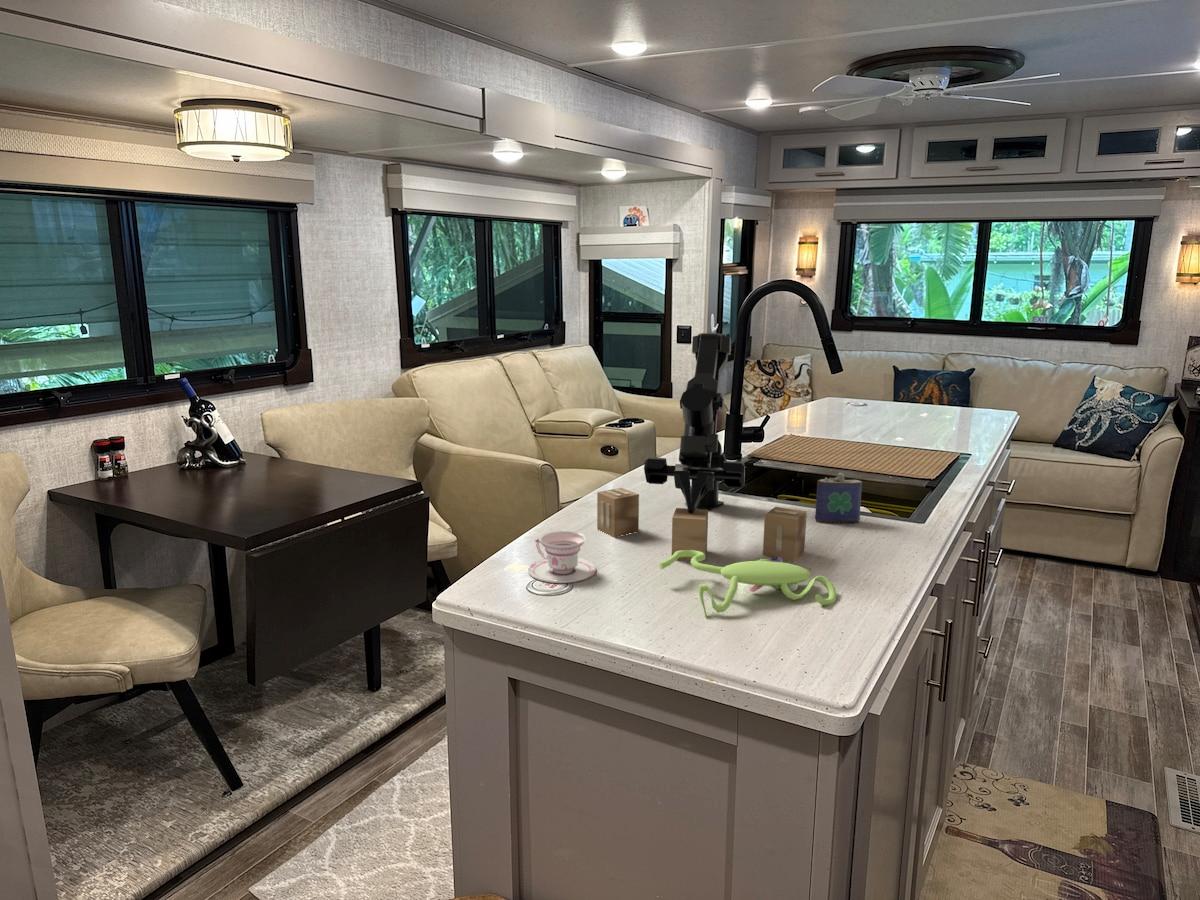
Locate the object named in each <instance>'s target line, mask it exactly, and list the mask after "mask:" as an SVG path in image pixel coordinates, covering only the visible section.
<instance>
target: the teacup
mask: <svg viewBox="0 0 1200 900" xmlns="http://www.w3.org/2000/svg"><path fill="white" fill-rule="evenodd" d="M534 541H535V543H536V545H535V547H536V549H537V551H538V553H539V555H540V556H541V557H542V558H543V559H542V558H541V559H539V560H537V561H535V562H533V563H531V564H530V565H529V567H528V570H527V572H528V574H529V576H530V577H532V578H533V579H535V580H537V581H541V582H546V583H551V584H553V583H554V584H569V583H576V582H577V583H578V582H581V581H585V580H586V579H590V578H591V577H593V576H594V575H595V574H596V571H597V567H596V566H595V564H594V563H592V562H591V561H590V560H588V559H587V560H586V559H584V558H580V557H578V556H579V552H581V551H580V550H581V547H582V546H583V545H584V544H585V542H586V541H587V537H586V536H585V535H584V534H582V533H578V532H575V531H574V532H573V531H566V530H565V531H562V530H559V531H558V530H557V531H549V532H546V533H542V534H540V535H539V536H538V538H537V539H535V540H534ZM540 544H541V545H542V547H544V551H545V553H546V554H547V555H546V554H544V552H543V551H542V549H541V547H540ZM551 569H552V571H553V573H555V574H556V575H555V574H552V573H551V572H549V570H551ZM573 570H575V572H574V573H572V572H573ZM570 573H571V574H570ZM557 574H558V575H557ZM566 574H567V575H566ZM550 579H551V580H550ZM553 580H557V581H553Z"/></svg>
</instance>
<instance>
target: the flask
mask: <svg viewBox="0 0 1200 900" xmlns="http://www.w3.org/2000/svg"><path fill="white" fill-rule="evenodd" d="M845 476H846V474H845V473H844V472H838V475H837V476H835V477H834V478H833V477H829V478H828V477H824V478H822V479H818V480H817V481H816V483H817V484H816V500H815V501H816V502H815V515H814V516H815V517H814V519H815V523H818V524H832V525H834V524H835V525H837V524H838V525H839V524H843V525H844V524H845V525H847V524H853V525H854V524H859V522H860V519H861V518H860V517H861V503H862V501H861V500H862V491H863V490H862V486H863V481H861V480H859V479H846V478H845Z"/></svg>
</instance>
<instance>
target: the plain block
mask: <svg viewBox="0 0 1200 900" xmlns="http://www.w3.org/2000/svg"><path fill="white" fill-rule="evenodd" d="M671 519H672V520H671V523H672V524H671V556H672V555H673V554H674V553H675V552H676V551H680V550H695V551H700V552H703V553H704V554H705V556H706V557H707V552H708V535H709V534H708V532H709V530H708V528H709V527H708V525H709V510H706V509H702V508H696V509H695V510H694V512H693V513H689V512H688V508H683V507H676V508H675V510H674V512H673V515H672V518H671ZM692 558H693V557H679V558H678V559H679V560H680V561H690V560H691V559H692ZM705 561H706V558H705V559H704V560H702V561H701V562H705Z"/></svg>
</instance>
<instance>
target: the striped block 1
mask: <svg viewBox="0 0 1200 900" xmlns="http://www.w3.org/2000/svg"><path fill="white" fill-rule="evenodd" d="M596 495H597V497H596V500H597V501H596V507H597V509H596V511H597V513H596V516H597V519H596V522H597V523H596V530H597V529H598V530H597V531H599V530H600V531H599V532H601V531H602V532H601V533H603V532H604V533H603V534H605V533H606V535H607V534H608V535H607V536H609V535H610V537H612V538H614V537H615V538H619V537H618V536H620V537H622V536H621V535H624V536H627V535H626V534H629V533H633V534H635V533H634V532H638V533H639V527H640V526H639V521H640V520H639V519H640V516H639V515H640V514H639V513H640V512H639V511H640V505H639V504H640V495H639V493H637V492H634V491H631V490H628V489H626V488H623V487H618V488H612V489H608V490H602V491H597V494H596ZM629 535H630V534H629Z"/></svg>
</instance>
